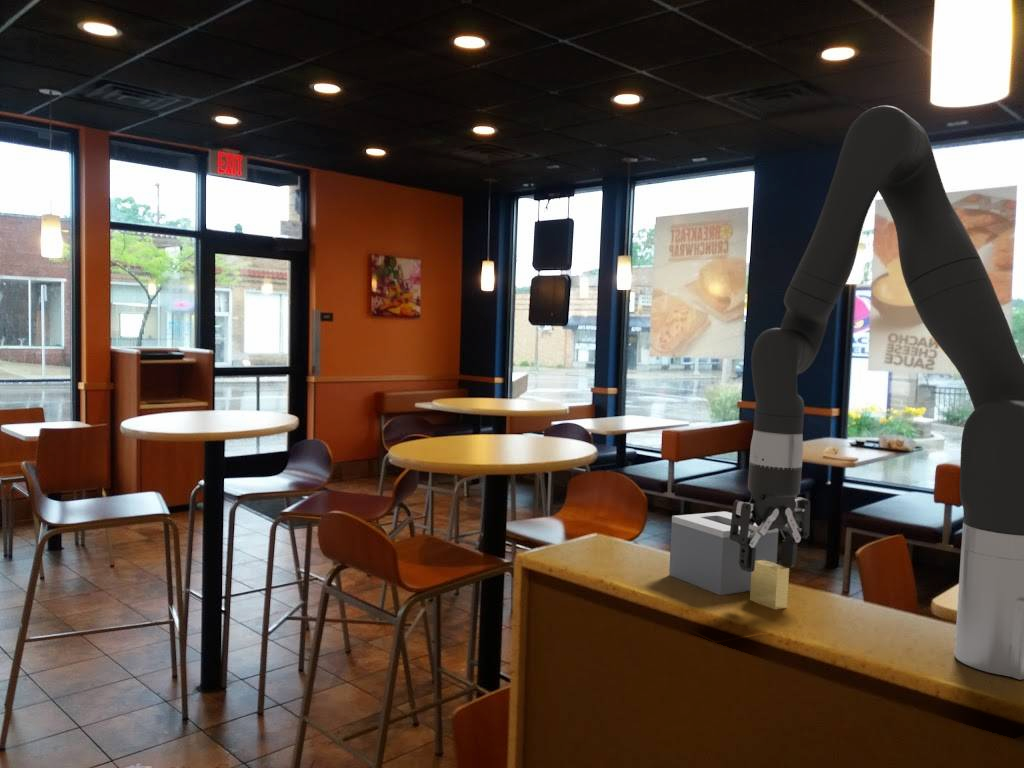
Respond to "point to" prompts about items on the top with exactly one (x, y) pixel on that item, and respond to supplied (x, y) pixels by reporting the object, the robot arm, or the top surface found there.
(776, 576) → the tan rectangular block
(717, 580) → the coin box
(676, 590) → the top surface
